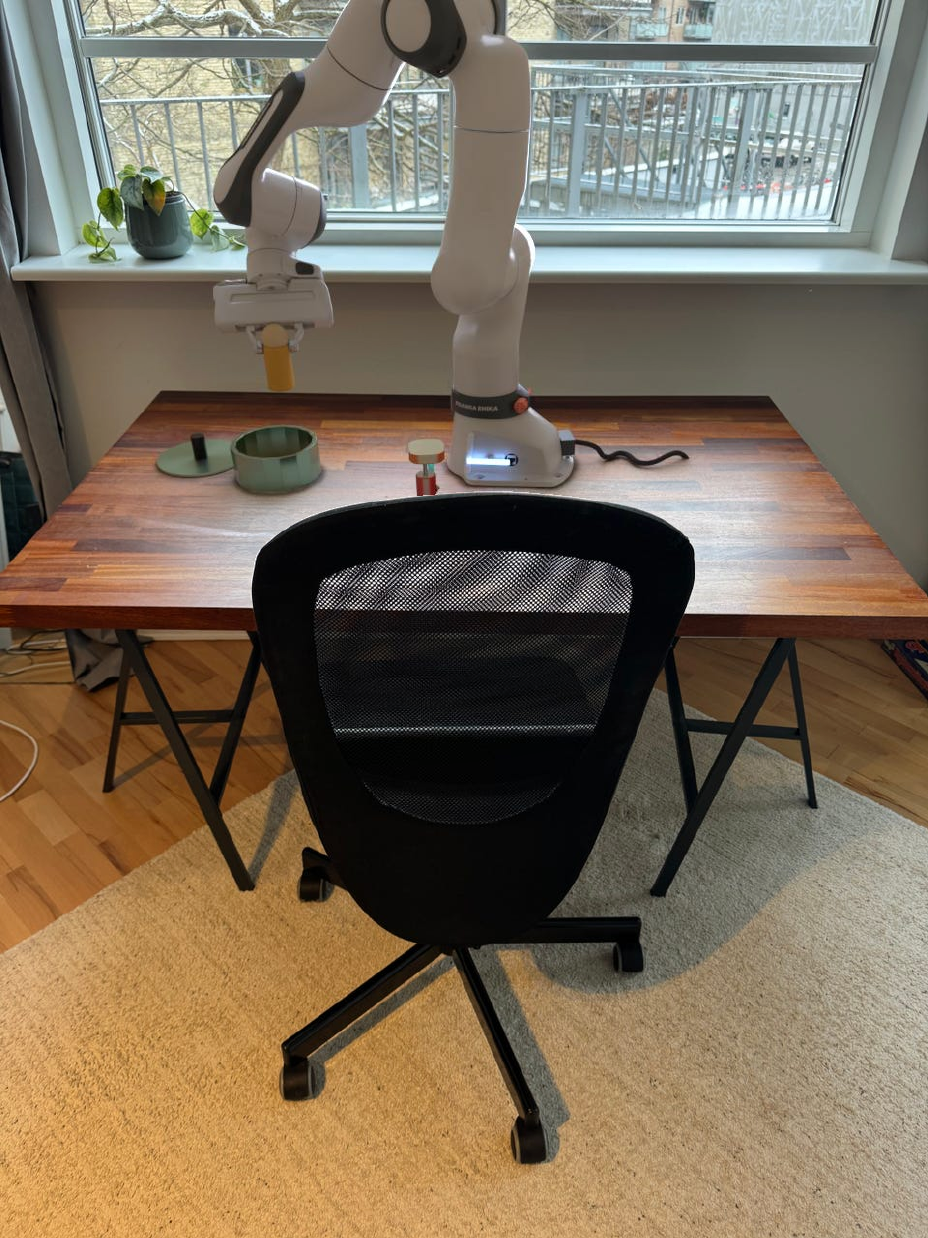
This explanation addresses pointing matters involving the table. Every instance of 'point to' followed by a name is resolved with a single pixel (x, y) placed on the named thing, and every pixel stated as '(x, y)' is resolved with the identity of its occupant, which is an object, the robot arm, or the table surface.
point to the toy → (277, 358)
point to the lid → (197, 457)
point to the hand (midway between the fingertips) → (276, 351)
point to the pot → (276, 458)
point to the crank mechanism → (426, 454)
